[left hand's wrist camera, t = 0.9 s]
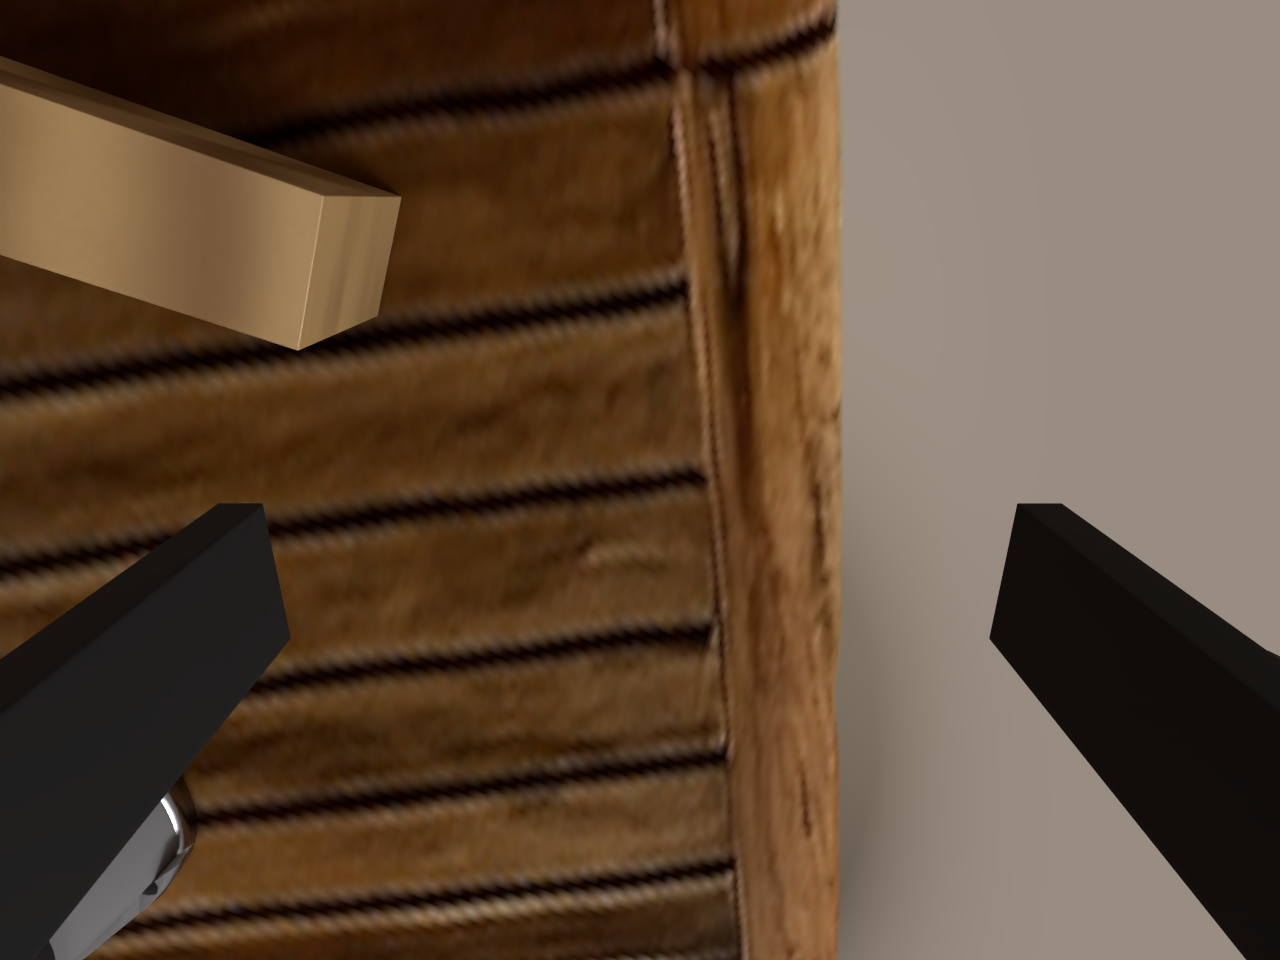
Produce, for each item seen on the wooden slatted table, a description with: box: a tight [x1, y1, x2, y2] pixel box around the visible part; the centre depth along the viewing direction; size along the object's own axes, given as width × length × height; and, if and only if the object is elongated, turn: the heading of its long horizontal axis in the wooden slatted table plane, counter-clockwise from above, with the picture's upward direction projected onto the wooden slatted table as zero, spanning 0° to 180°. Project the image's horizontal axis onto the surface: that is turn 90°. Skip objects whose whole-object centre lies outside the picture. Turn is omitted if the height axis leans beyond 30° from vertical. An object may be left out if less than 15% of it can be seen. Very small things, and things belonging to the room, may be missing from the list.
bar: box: [0, 56, 401, 350], centre depth 26 cm, size 22×5×8 cm, turn 71°
